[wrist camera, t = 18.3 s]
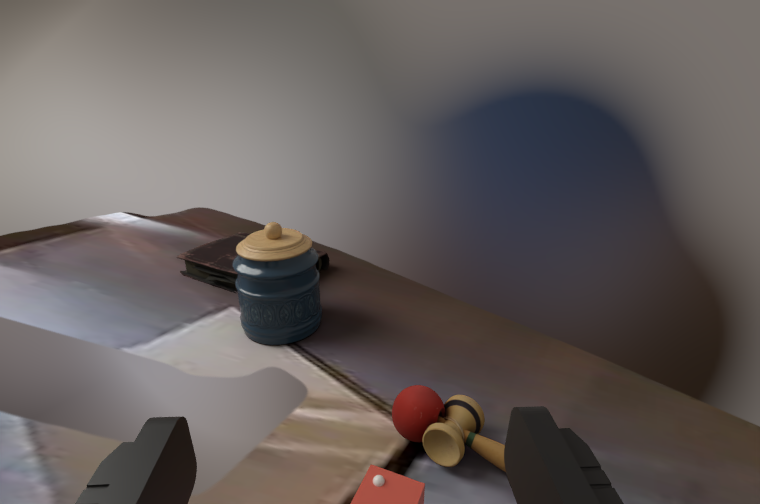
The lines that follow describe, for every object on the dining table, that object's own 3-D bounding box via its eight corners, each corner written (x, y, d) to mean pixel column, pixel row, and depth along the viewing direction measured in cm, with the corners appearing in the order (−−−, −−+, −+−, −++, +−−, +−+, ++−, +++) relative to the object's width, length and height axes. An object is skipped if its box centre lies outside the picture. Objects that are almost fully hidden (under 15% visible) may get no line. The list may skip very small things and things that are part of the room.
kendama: (556, 469, 46) (410, 391, 53) (573, 437, 42) (414, 358, 50) (536, 537, 41) (378, 440, 48) (554, 507, 37) (379, 407, 44)
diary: (245, 249, 102) (243, 229, 100) (330, 271, 90) (329, 249, 88) (177, 277, 87) (172, 255, 85) (267, 309, 75) (264, 283, 73)
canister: (225, 329, 68) (207, 226, 61) (284, 297, 78) (275, 205, 71) (281, 357, 62) (268, 245, 55) (338, 318, 71) (334, 219, 64)
